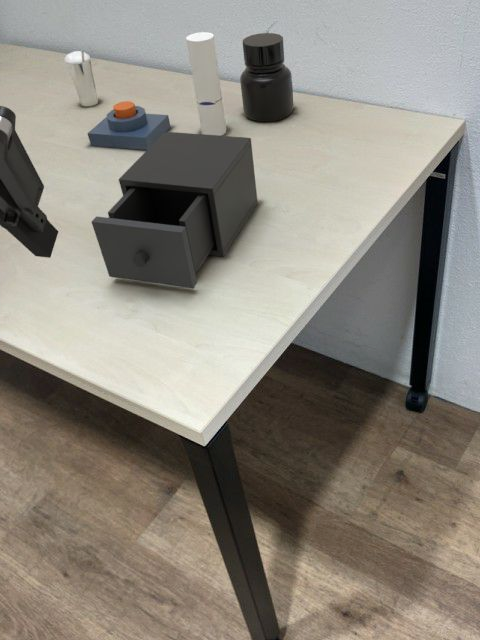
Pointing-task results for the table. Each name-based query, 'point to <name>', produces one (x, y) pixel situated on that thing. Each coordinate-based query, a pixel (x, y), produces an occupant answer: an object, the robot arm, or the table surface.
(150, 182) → the grey drawer cabinet
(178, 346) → the table surface
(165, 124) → the button block
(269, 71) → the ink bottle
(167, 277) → the open drawer with knob
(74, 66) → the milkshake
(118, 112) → the button
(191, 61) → the tube
